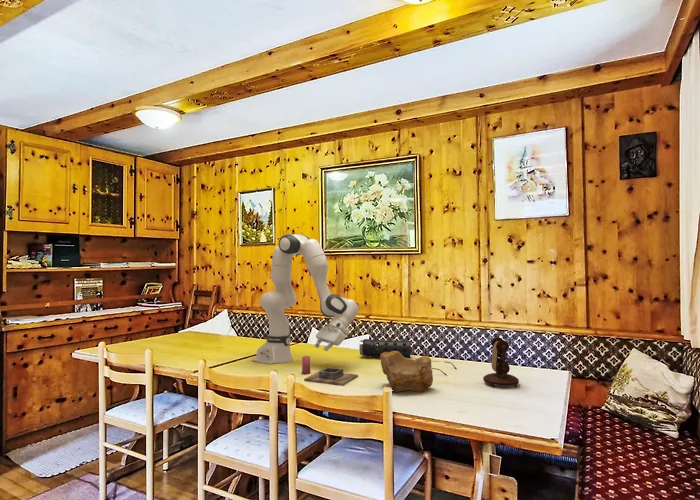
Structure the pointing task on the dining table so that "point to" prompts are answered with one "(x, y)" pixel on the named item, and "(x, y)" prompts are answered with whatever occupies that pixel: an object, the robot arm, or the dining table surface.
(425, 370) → the rough brown rock
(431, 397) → the dining table surface
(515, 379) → the dark brown ornamental stand
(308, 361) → the candle
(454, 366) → the eyeglasses
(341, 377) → the candle board
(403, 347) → the muzzle brake
